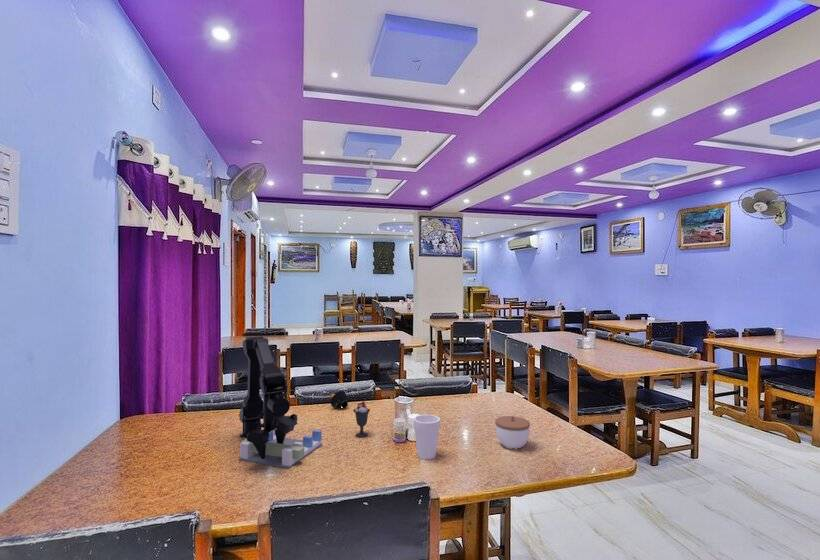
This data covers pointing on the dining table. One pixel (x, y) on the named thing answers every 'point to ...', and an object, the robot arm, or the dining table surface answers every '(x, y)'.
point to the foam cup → (426, 435)
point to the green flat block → (279, 449)
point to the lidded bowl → (512, 431)
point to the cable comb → (287, 455)
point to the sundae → (361, 418)
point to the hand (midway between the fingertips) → (271, 453)
